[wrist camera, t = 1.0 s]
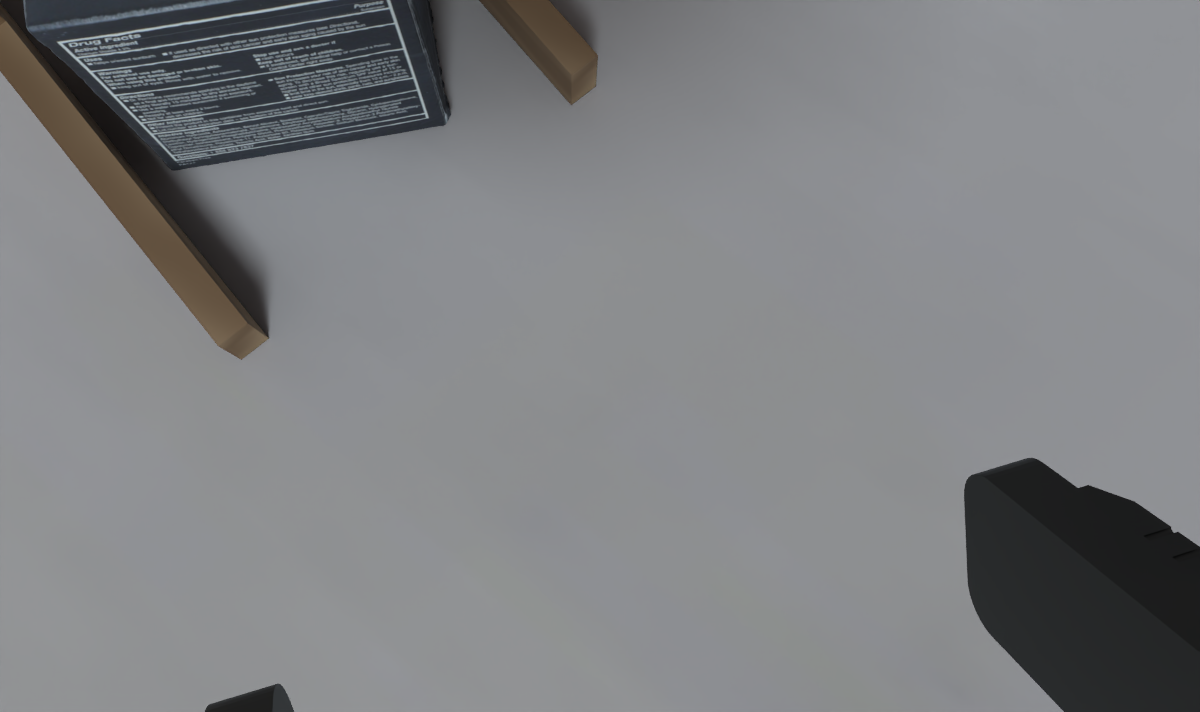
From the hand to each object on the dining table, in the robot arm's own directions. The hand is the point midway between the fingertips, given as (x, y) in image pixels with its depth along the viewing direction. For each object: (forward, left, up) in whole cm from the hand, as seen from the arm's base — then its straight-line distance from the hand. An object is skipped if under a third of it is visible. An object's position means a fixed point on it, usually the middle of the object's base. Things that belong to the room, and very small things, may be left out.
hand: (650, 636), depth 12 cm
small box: (-3, -21, -25) cm, 33 cm away
